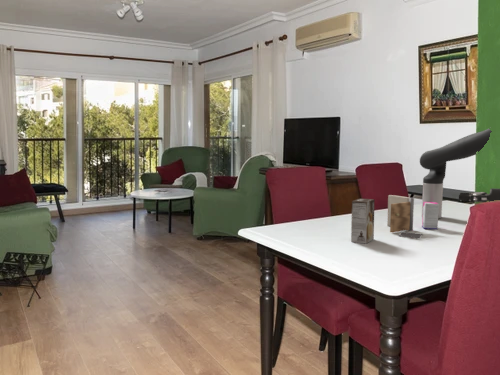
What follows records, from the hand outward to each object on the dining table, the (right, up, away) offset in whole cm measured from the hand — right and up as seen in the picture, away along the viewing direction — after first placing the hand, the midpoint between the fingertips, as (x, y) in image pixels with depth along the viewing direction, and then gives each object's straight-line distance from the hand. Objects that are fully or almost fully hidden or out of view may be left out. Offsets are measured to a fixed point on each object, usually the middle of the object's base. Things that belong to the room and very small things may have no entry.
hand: (459, 196), depth 194 cm
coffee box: (-46, -17, -16) cm, 51 cm away
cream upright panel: (-23, -14, +8) cm, 28 cm away
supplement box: (-10, -15, +7) cm, 19 cm away
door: (-25, -15, -1) cm, 29 cm away
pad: (-24, -16, -7) cm, 29 cm away
